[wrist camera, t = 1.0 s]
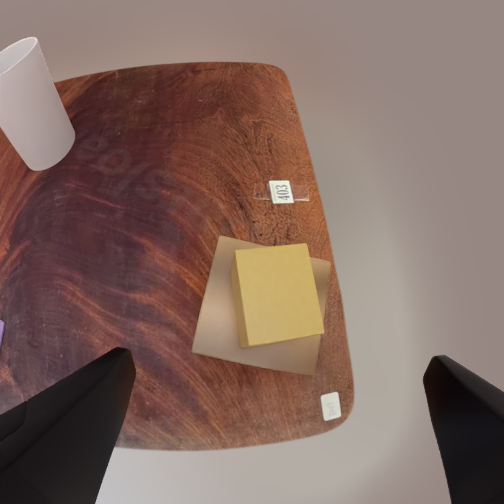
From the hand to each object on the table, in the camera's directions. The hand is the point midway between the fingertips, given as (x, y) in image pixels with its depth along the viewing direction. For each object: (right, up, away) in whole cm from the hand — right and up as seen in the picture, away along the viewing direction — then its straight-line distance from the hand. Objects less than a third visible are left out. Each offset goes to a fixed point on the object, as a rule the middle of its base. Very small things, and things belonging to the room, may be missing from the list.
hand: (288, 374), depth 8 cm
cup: (-28, +18, +24) cm, 41 cm away
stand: (-1, -3, +20) cm, 20 cm away
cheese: (0, 0, +11) cm, 11 cm away
